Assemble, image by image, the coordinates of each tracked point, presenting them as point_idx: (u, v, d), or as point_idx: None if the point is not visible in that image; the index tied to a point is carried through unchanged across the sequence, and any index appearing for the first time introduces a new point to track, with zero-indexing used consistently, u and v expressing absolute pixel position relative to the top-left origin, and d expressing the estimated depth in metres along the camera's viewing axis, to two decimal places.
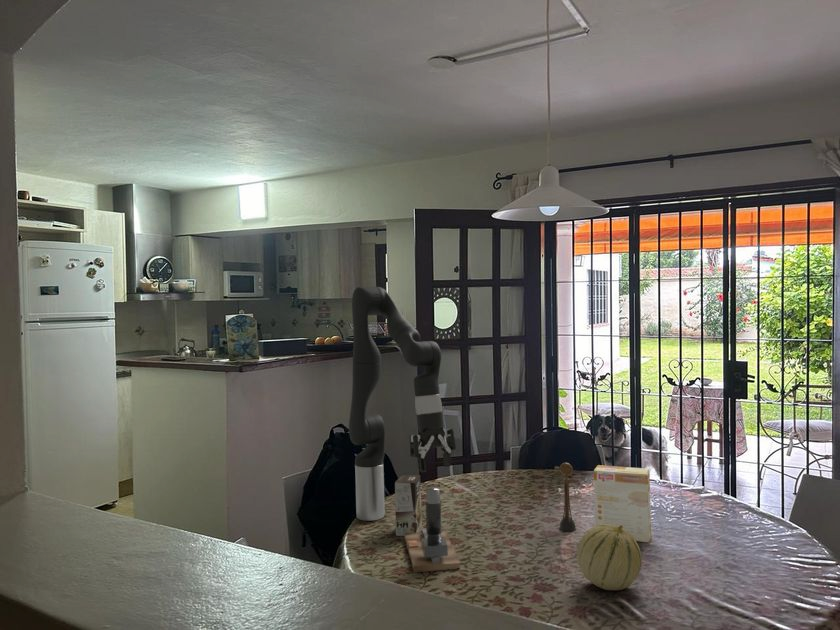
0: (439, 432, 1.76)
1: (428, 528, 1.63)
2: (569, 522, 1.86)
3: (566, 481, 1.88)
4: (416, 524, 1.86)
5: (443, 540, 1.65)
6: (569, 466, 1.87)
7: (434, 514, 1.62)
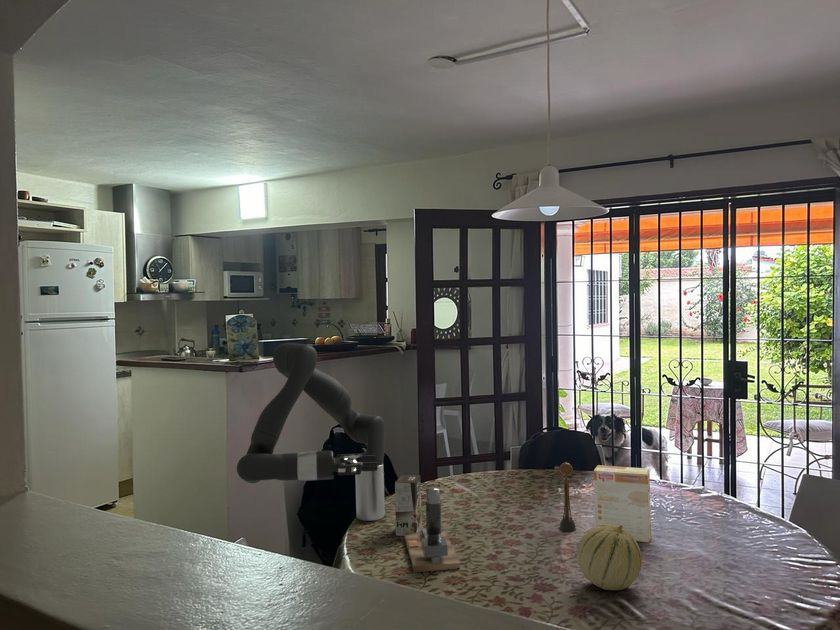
0: None
1: (428, 528, 1.63)
2: (569, 522, 1.86)
3: (566, 481, 1.88)
4: (416, 524, 1.86)
5: (443, 540, 1.65)
6: (569, 466, 1.87)
7: (434, 514, 1.62)
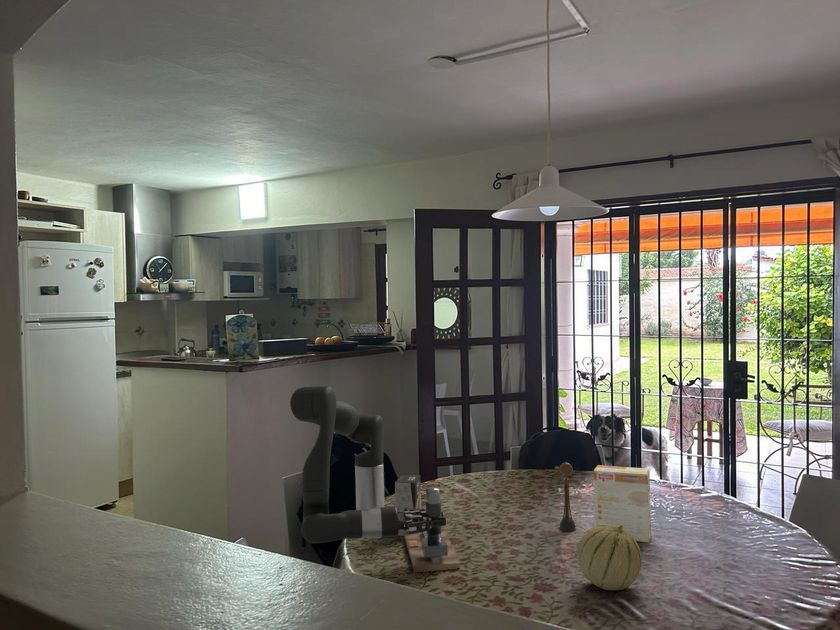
0: None
1: None
2: (569, 522, 1.86)
3: (566, 481, 1.88)
4: None
5: (443, 540, 1.65)
6: (569, 466, 1.87)
7: (434, 514, 1.62)
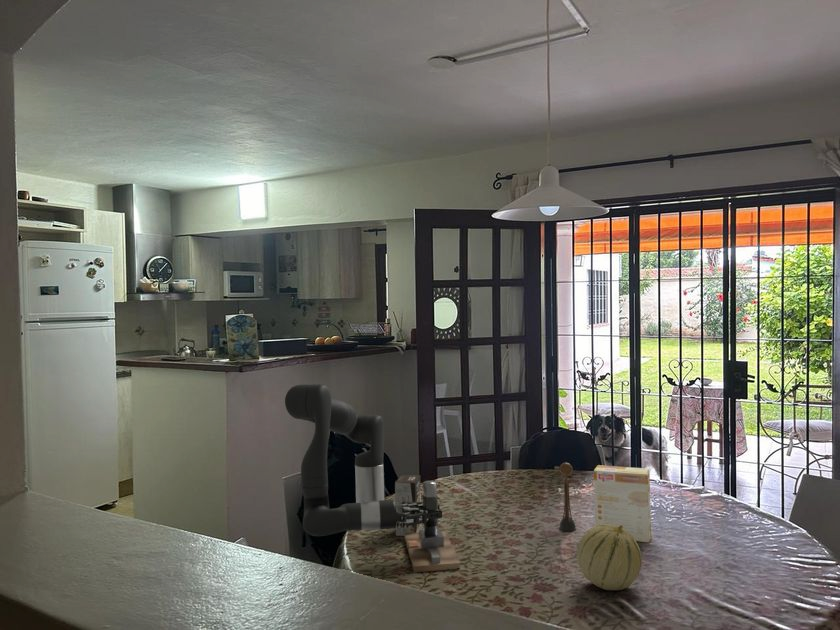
0: None
1: None
2: (569, 522, 1.86)
3: (566, 481, 1.88)
4: (416, 524, 1.86)
5: (439, 532, 1.71)
6: (569, 466, 1.87)
7: (431, 507, 1.68)
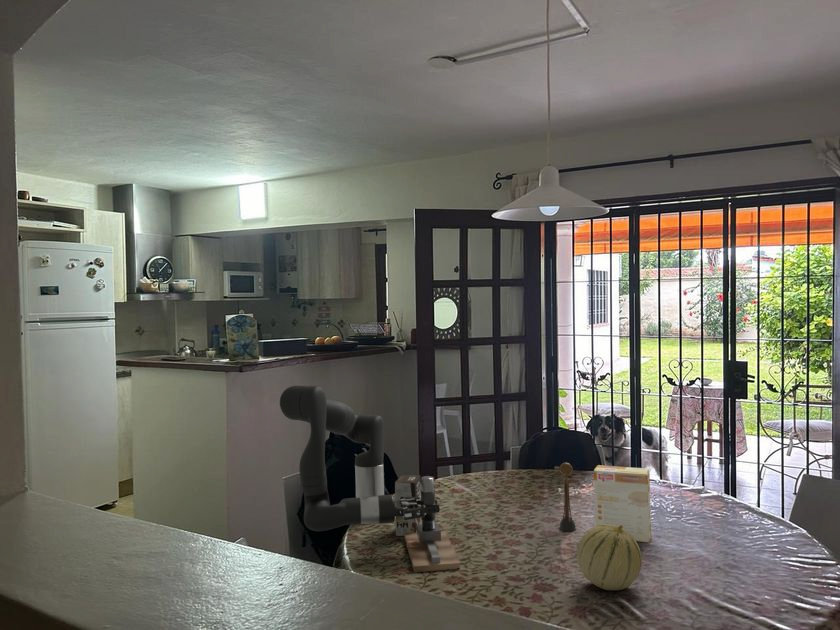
0: None
1: None
2: (569, 522, 1.86)
3: (566, 481, 1.88)
4: (416, 524, 1.86)
5: (437, 526, 1.76)
6: (569, 466, 1.87)
7: (429, 502, 1.73)
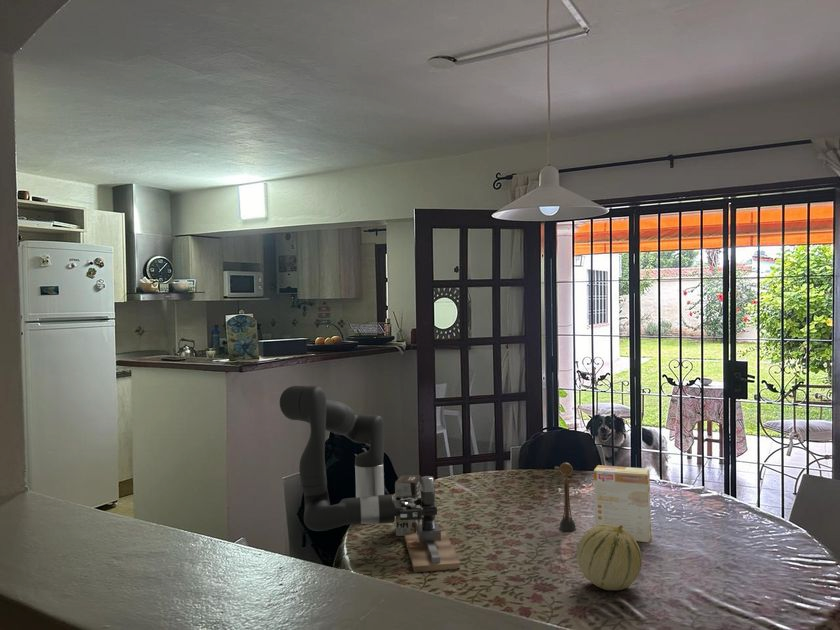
0: None
1: (423, 515, 1.74)
2: (569, 522, 1.86)
3: (566, 481, 1.88)
4: (416, 524, 1.86)
5: (437, 526, 1.76)
6: (569, 466, 1.87)
7: (429, 502, 1.73)
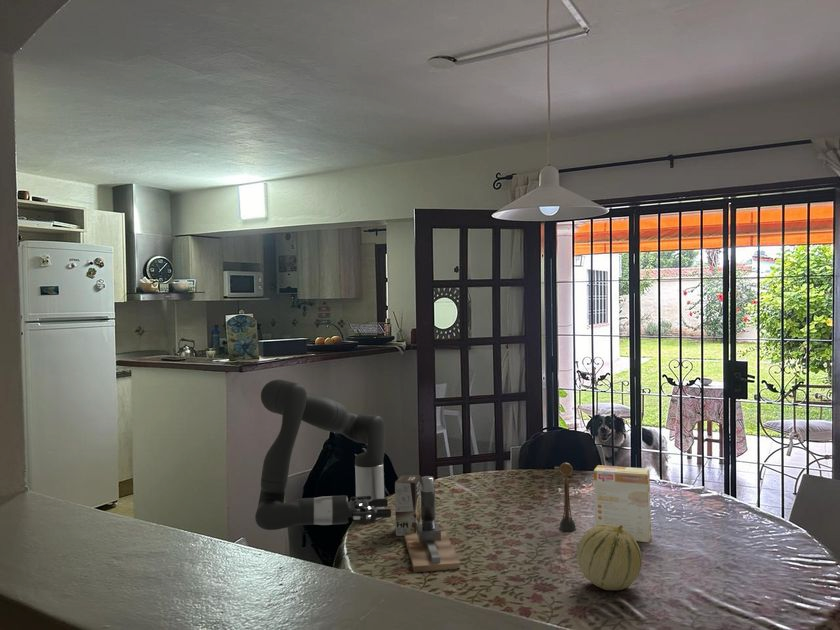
0: None
1: (423, 515, 1.74)
2: (569, 522, 1.86)
3: (566, 481, 1.88)
4: (416, 524, 1.86)
5: (437, 526, 1.76)
6: (569, 466, 1.87)
7: (429, 502, 1.73)
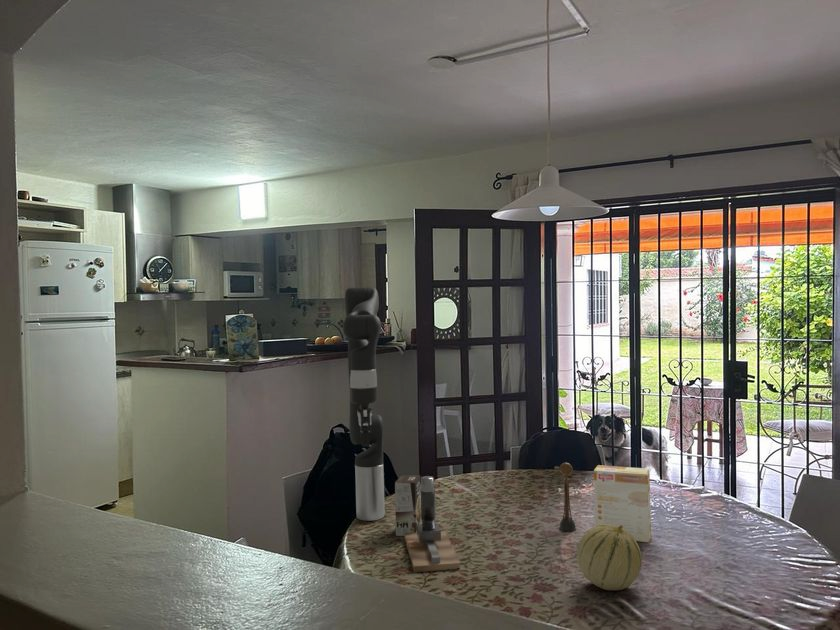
0: (360, 408, 1.74)
1: (423, 515, 1.74)
2: (569, 522, 1.86)
3: (566, 481, 1.88)
4: (416, 524, 1.86)
5: (437, 526, 1.76)
6: (569, 466, 1.87)
7: (429, 502, 1.73)
